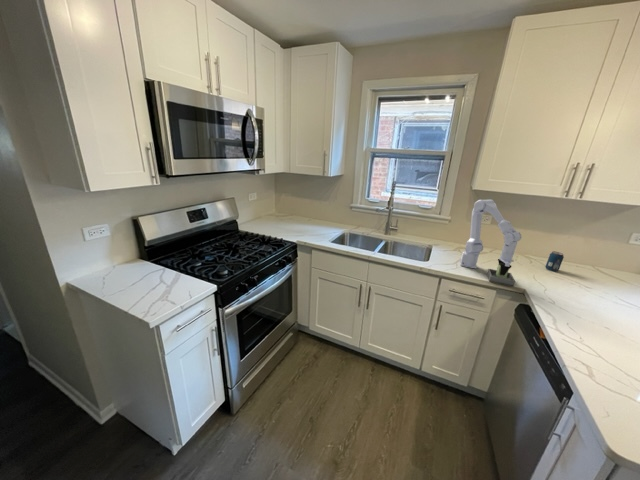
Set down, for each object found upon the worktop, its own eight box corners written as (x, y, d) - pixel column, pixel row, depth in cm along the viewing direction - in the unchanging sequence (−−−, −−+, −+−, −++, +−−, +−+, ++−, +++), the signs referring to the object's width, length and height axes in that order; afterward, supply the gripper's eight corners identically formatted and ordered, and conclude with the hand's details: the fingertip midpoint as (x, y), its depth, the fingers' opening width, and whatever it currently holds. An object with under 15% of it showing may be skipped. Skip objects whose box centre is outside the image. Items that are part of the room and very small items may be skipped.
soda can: (549, 267, 180) (555, 250, 176) (560, 271, 174) (567, 254, 170) (542, 267, 178) (548, 251, 174) (553, 272, 172) (560, 255, 168)
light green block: (496, 276, 156) (499, 267, 154) (495, 273, 160) (498, 264, 158) (506, 278, 154) (509, 268, 152) (504, 275, 158) (507, 265, 156)
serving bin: (489, 281, 155) (490, 276, 154) (486, 273, 165) (488, 268, 164) (513, 286, 150) (515, 281, 149) (509, 278, 161) (510, 272, 159)
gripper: (519, 257, 144) (512, 279, 148) (513, 249, 156) (507, 270, 161) (504, 255, 147) (497, 276, 151) (499, 247, 159) (493, 267, 164)
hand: (501, 273), depth 156 cm, fingers closed on light green block, 5 cm apart
